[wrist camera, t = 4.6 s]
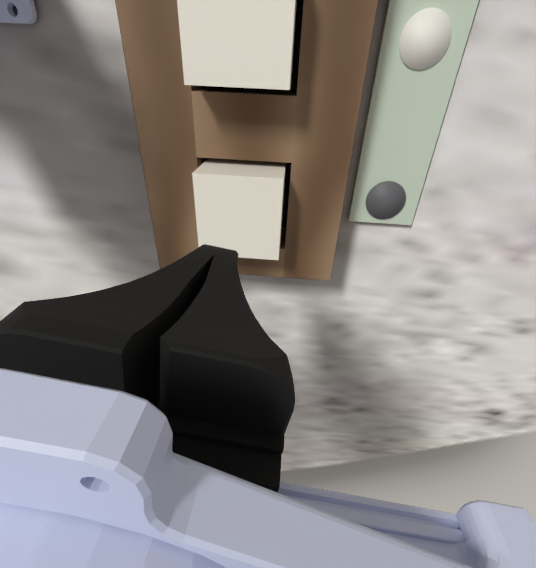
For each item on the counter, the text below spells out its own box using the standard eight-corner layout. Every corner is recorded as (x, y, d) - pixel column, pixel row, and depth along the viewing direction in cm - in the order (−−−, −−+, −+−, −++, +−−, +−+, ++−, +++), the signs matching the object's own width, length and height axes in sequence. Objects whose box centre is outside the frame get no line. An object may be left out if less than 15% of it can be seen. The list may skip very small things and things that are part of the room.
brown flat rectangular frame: (174, 247, 23) (159, 267, 21) (76, -494, 10) (-1, -690, 7) (326, 258, 23) (330, 280, 20) (447, -508, 9) (501, -724, 7)
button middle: (203, 83, 16) (184, 84, 13) (196, -38, 14) (171, -66, 11) (291, 87, 16) (289, 90, 13) (299, -35, 14) (299, -62, 11)
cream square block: (212, 230, 21) (199, 254, 18) (208, 158, 18) (192, 173, 15) (281, 235, 20) (278, 260, 18) (286, 162, 18) (283, 178, 15)
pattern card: (348, 219, 21) (349, 221, 21) (446, -315, 11) (451, -328, 11) (409, 223, 21) (411, 225, 21) (570, -316, 11) (579, -329, 10)
